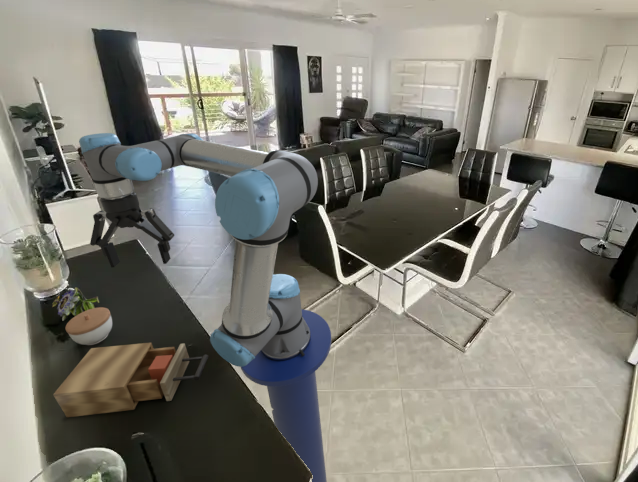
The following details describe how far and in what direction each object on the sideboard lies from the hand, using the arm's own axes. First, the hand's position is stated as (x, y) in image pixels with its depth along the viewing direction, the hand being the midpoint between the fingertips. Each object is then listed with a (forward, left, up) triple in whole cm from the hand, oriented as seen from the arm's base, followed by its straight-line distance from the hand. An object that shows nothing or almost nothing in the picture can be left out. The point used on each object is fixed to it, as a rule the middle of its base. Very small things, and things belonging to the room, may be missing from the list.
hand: (141, 263), depth 92 cm
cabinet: (-8, +16, -29) cm, 34 cm away
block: (-17, +7, -27) cm, 32 cm away
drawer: (-17, +7, -28) cm, 33 cm away
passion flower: (+36, +14, -29) cm, 48 cm away
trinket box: (+18, +14, -29) cm, 37 cm away
